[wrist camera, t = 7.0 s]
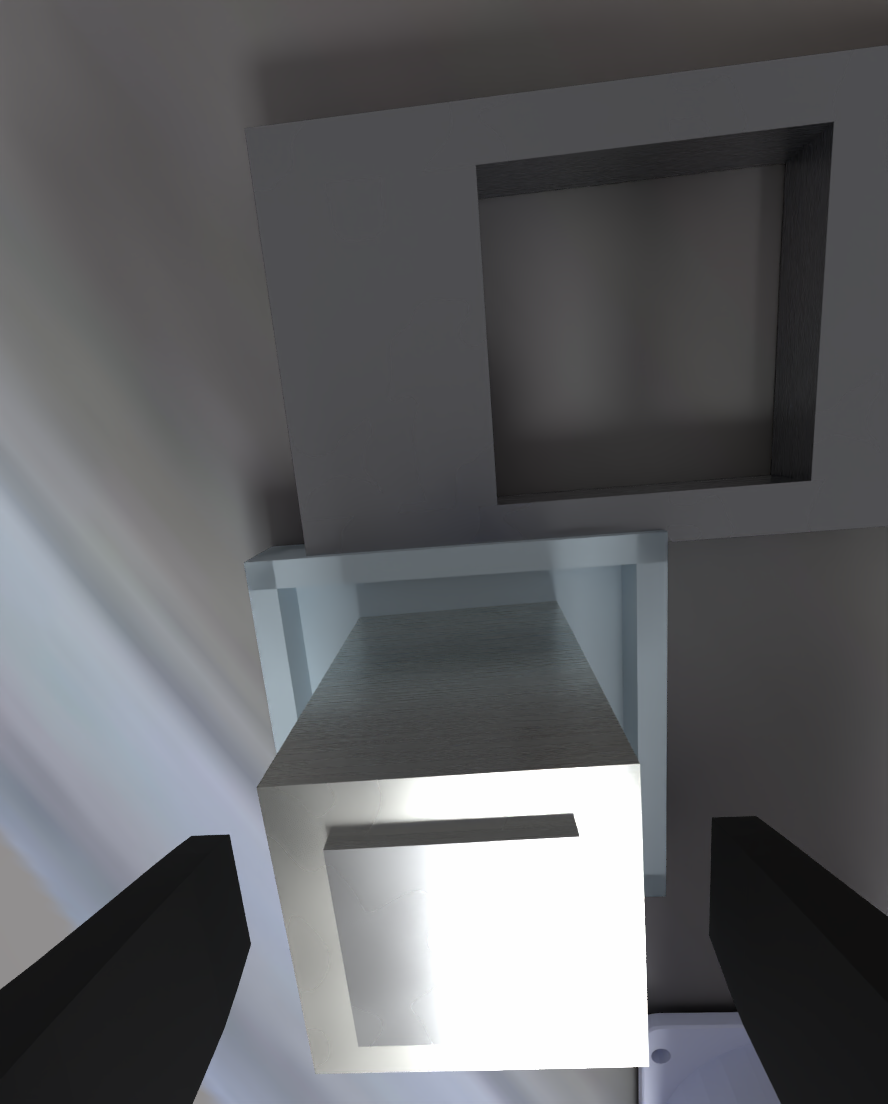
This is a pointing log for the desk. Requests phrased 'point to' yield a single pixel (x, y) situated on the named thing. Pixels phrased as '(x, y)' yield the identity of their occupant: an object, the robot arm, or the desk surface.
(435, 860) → the grey rectangular block
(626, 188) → the desk surface
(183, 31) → the desk surface
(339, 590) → the parts tray
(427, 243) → the rail
